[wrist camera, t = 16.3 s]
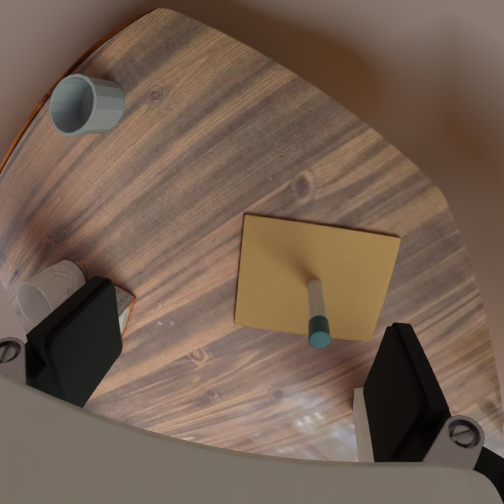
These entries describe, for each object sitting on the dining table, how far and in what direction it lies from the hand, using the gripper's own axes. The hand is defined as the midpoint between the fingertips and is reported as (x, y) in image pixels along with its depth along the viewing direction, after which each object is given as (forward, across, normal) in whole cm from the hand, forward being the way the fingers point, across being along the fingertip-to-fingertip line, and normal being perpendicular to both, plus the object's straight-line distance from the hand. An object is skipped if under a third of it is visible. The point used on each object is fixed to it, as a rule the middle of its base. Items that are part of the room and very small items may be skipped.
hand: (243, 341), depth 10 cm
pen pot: (+30, +25, -9) cm, 40 cm away
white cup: (+30, +32, +18) cm, 48 cm away
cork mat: (+30, -6, +12) cm, 33 cm away
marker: (+30, -6, +12) cm, 33 cm away
